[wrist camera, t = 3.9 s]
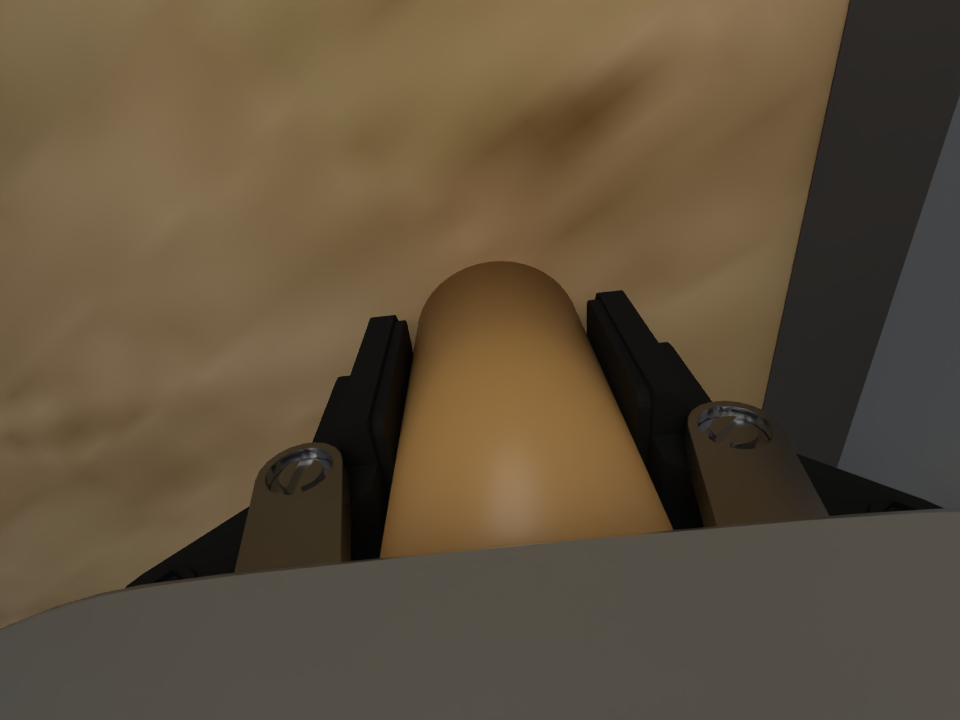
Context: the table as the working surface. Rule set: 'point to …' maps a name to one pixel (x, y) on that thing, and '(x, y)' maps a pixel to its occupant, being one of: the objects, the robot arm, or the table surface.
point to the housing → (881, 261)
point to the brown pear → (511, 425)
